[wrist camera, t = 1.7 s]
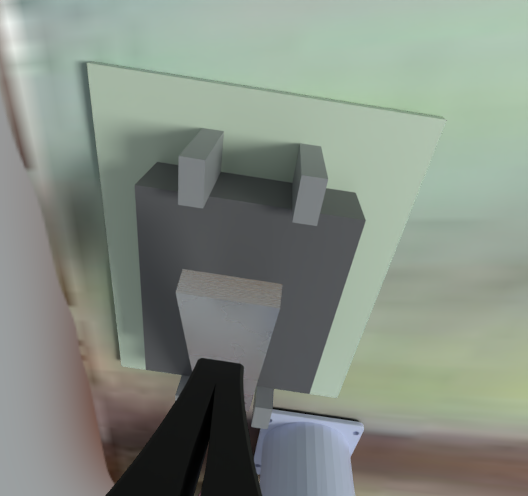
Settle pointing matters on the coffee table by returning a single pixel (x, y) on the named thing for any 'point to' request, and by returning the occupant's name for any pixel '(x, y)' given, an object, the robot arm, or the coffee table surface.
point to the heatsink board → (258, 150)
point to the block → (228, 320)
